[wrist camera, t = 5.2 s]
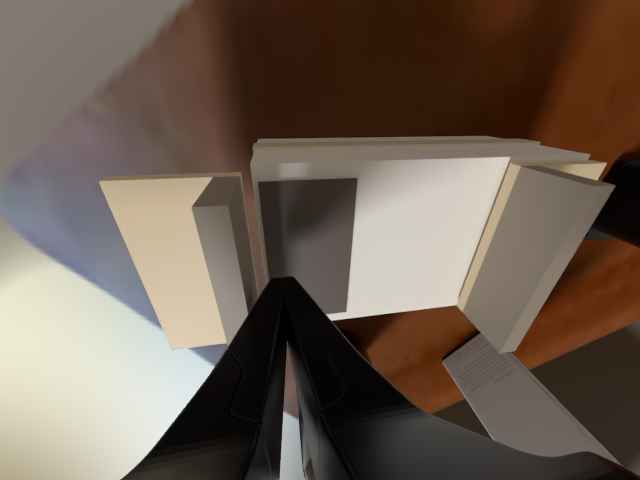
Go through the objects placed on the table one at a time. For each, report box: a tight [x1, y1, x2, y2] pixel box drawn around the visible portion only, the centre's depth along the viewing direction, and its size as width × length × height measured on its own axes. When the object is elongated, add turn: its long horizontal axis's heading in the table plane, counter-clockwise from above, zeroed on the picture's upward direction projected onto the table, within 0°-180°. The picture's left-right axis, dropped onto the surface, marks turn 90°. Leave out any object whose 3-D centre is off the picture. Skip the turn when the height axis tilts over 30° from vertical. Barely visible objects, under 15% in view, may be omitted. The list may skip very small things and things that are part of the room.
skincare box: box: [442, 333, 622, 466], centre depth 22 cm, size 6×4×12 cm
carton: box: [250, 136, 590, 321], centre depth 14 cm, size 14×8×6 cm, turn 89°
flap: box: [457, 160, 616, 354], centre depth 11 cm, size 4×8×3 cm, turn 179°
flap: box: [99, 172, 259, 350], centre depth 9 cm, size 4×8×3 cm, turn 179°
